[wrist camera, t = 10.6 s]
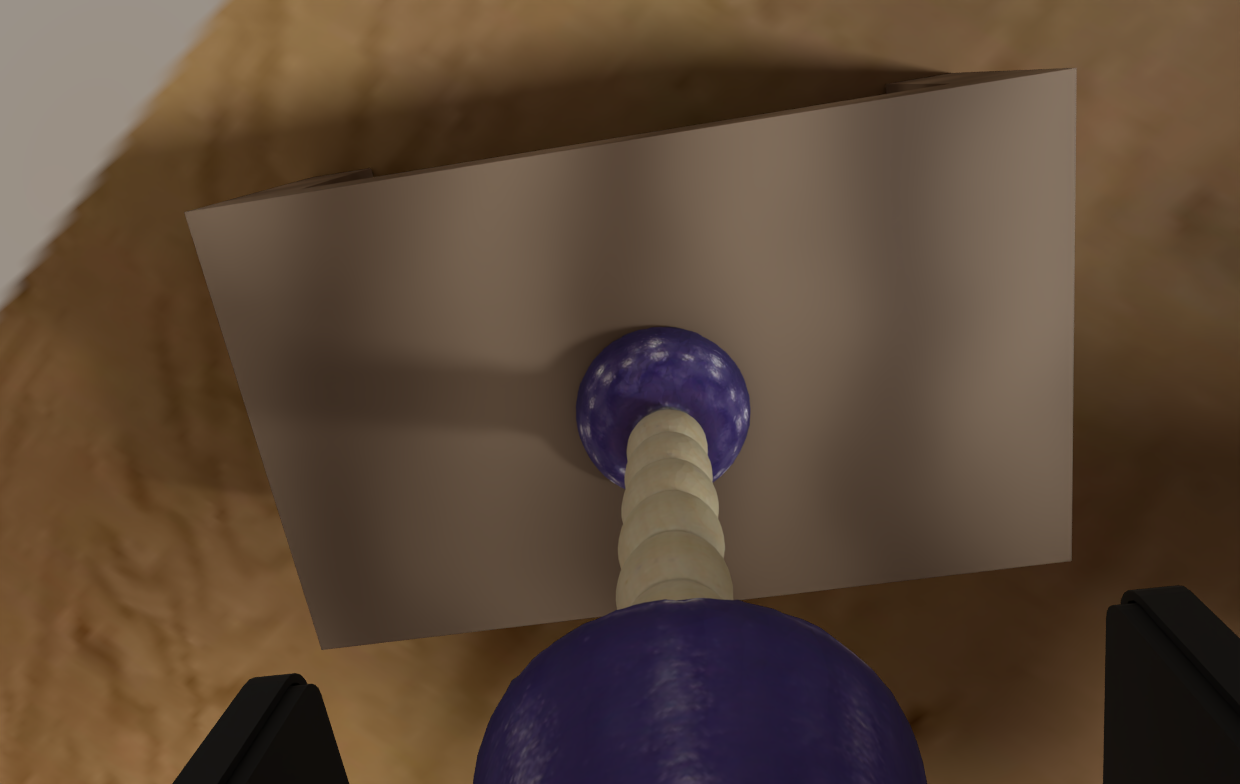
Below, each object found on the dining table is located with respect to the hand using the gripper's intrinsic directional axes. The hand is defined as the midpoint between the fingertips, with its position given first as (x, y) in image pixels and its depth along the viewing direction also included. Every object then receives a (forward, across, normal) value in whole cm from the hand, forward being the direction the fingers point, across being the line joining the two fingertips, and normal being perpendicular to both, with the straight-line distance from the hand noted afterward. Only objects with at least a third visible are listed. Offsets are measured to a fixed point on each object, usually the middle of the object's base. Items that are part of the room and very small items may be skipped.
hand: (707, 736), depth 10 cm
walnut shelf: (+20, +1, 0) cm, 20 cm away
